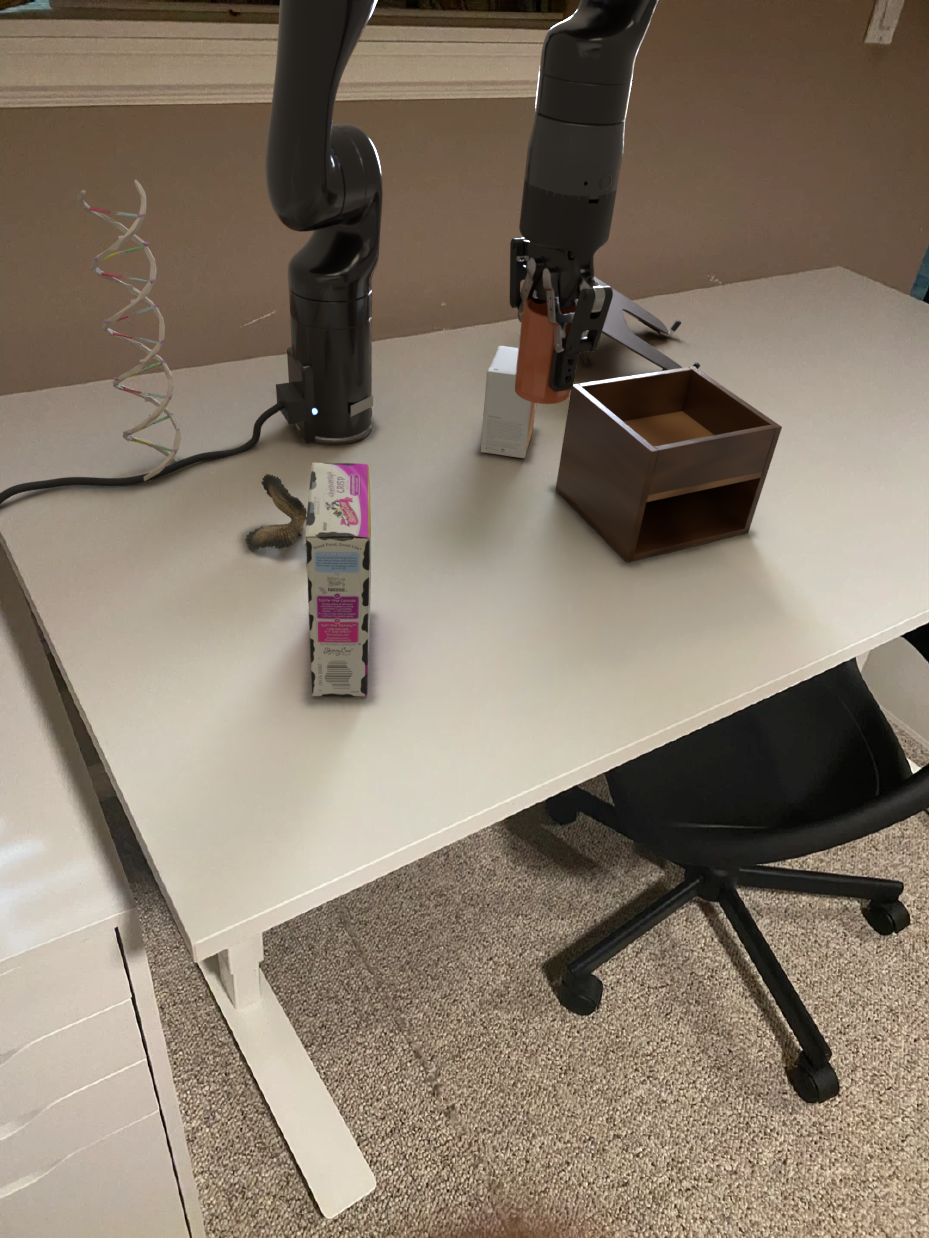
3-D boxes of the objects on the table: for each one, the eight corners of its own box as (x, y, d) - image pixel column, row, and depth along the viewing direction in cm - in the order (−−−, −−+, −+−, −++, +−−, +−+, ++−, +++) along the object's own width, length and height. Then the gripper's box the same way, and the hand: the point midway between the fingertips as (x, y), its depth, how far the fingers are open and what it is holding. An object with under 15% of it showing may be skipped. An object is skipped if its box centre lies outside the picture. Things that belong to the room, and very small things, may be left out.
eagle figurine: (347, 514, 96) (266, 486, 96) (345, 486, 89) (257, 456, 89) (321, 579, 94) (238, 551, 93) (317, 556, 87) (227, 525, 87)
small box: (524, 460, 109) (535, 378, 103) (479, 453, 110) (486, 371, 103) (534, 430, 115) (544, 350, 109) (490, 423, 116) (498, 343, 109)
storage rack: (626, 562, 94) (651, 451, 86) (555, 490, 105) (571, 384, 96) (748, 533, 100) (782, 426, 92) (669, 467, 110) (693, 365, 102)
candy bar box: (371, 699, 77) (371, 538, 66) (310, 700, 76) (301, 537, 66) (370, 614, 85) (370, 460, 75) (316, 614, 85) (308, 459, 74)
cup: (530, 408, 82) (542, 321, 77) (504, 382, 86) (513, 298, 81) (580, 400, 84) (594, 315, 79) (552, 376, 88) (564, 293, 83)
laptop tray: (664, 428, 131) (705, 376, 126) (529, 349, 124) (568, 291, 119) (642, 361, 149) (677, 313, 144) (523, 288, 141) (556, 236, 136)
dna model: (161, 452, 105) (116, 171, 86) (200, 471, 103) (162, 185, 83) (114, 474, 101) (54, 183, 82) (153, 494, 98) (101, 199, 79)
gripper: (490, 156, 77) (474, 348, 88) (576, 207, 67) (546, 416, 78) (567, 153, 79) (542, 340, 90) (660, 201, 70) (620, 404, 81)
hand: (544, 374), depth 84 cm, fingers closed on cup, 5 cm apart
